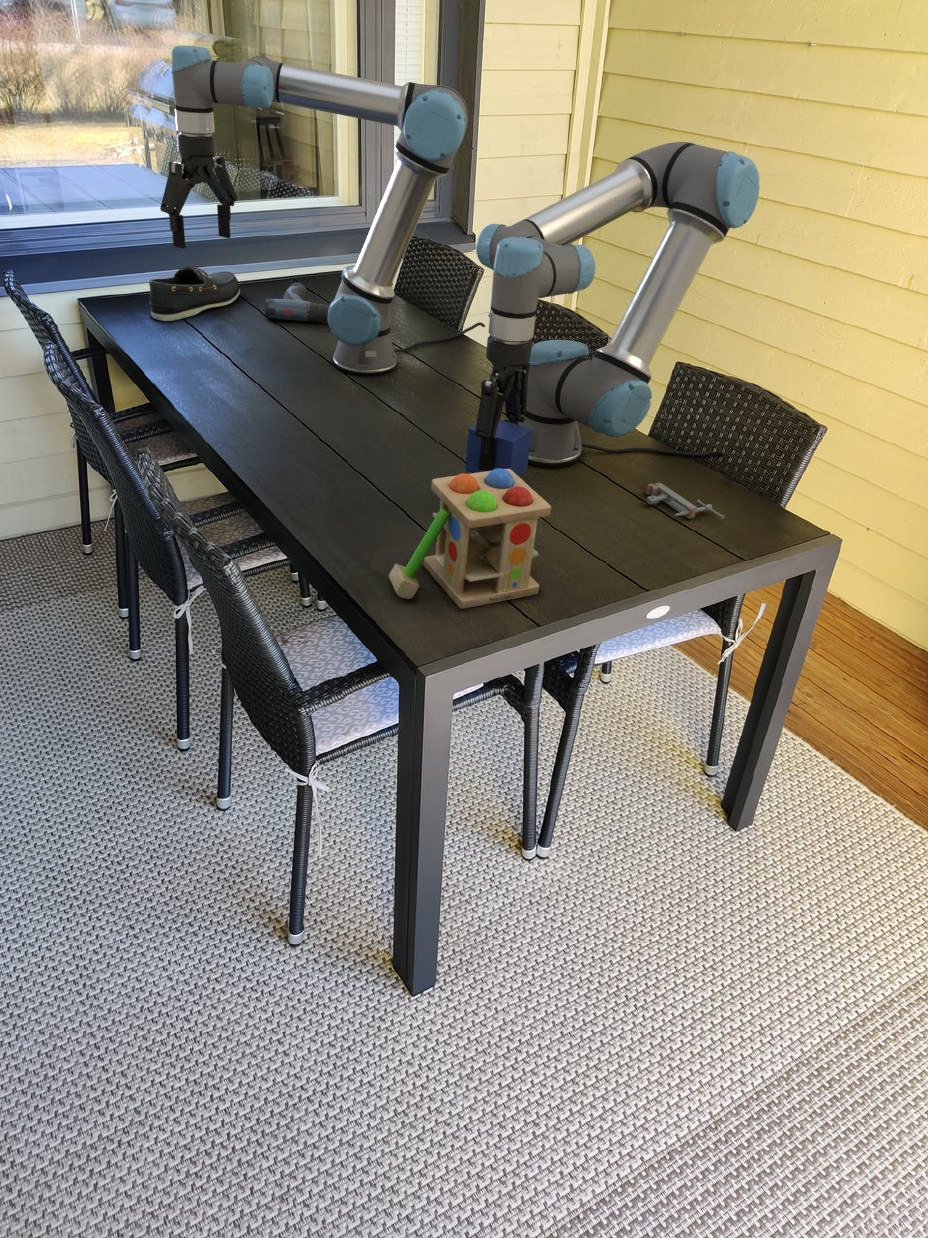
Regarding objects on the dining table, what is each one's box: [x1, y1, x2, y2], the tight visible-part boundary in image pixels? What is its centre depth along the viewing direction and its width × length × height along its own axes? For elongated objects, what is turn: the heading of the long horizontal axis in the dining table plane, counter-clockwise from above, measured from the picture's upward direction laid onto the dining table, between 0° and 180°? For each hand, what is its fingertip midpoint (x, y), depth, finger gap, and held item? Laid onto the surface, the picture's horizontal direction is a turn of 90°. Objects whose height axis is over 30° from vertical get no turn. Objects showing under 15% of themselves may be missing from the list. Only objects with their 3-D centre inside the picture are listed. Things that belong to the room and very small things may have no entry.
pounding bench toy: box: [388, 468, 552, 610], centre depth 154 cm, size 23×14×18 cm, turn 116°
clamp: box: [645, 482, 726, 521], centre depth 187 cm, size 15×2×10 cm
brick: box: [464, 418, 532, 477], centre depth 175 cm, size 7×9×8 cm
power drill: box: [264, 282, 330, 322], centre depth 265 cm, size 5×19×20 cm
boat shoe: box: [148, 265, 241, 322], centre depth 262 cm, size 13×33×10 cm, turn 147°
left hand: (202, 241), depth 212 cm, fingers open, 13 cm apart
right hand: (497, 462), depth 176 cm, fingers closed on brick, 7 cm apart
